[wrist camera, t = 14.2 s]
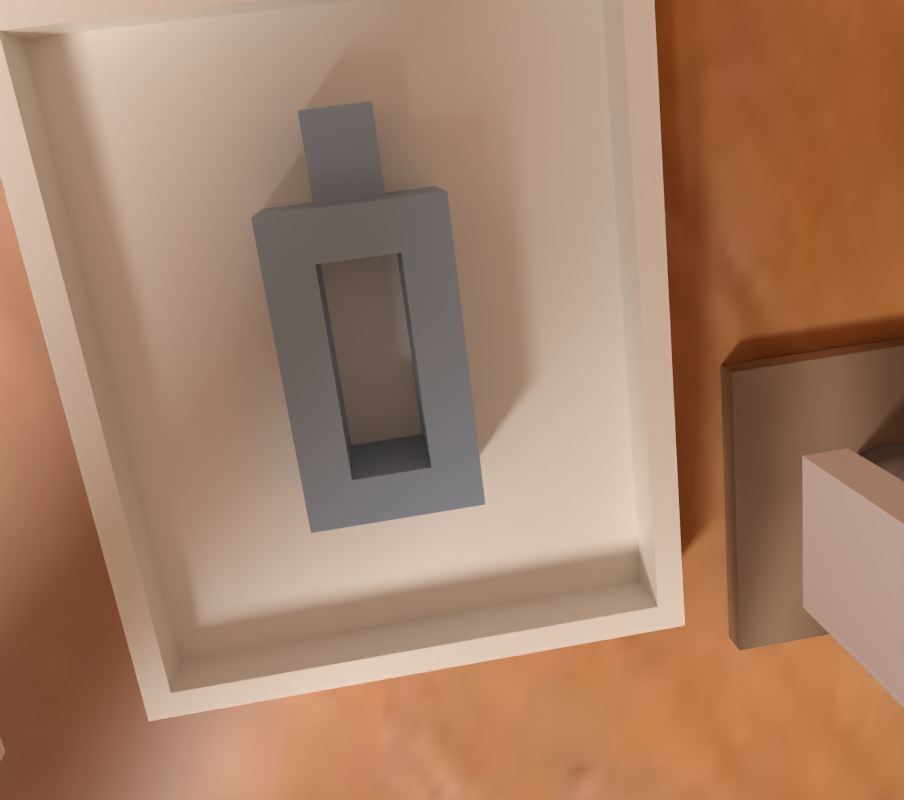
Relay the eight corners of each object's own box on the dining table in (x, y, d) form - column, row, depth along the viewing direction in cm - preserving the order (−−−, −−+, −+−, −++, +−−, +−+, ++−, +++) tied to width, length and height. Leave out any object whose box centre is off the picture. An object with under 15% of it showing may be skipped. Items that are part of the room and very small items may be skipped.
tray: (165, 672, 34) (148, 721, 31) (-7, 12, 27) (-49, -4, 24) (657, 586, 35) (684, 625, 32) (619, -59, 28) (650, -82, 25)
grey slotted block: (470, 467, 32) (485, 504, 29) (314, 493, 31) (310, 533, 28) (424, 97, 28) (434, 91, 25) (245, 120, 27) (231, 117, 24)
